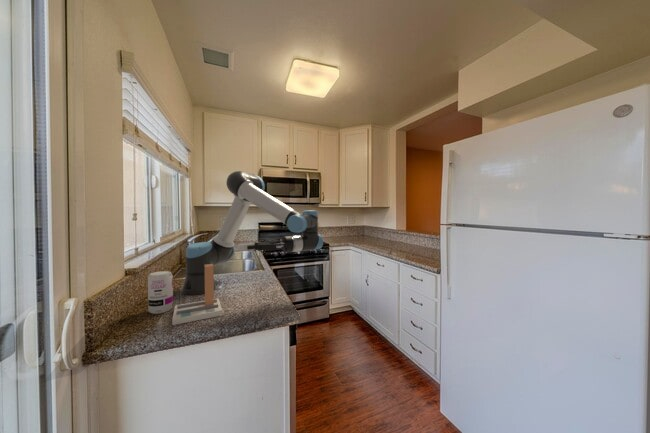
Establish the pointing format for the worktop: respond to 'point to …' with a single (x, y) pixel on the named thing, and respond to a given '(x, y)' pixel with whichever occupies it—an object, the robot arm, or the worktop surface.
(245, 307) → the worktop surface
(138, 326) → the worktop surface
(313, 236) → the robot arm
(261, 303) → the worktop surface
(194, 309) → the switch base
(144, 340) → the worktop surface
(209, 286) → the orange rectangular block
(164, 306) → the supplement can
